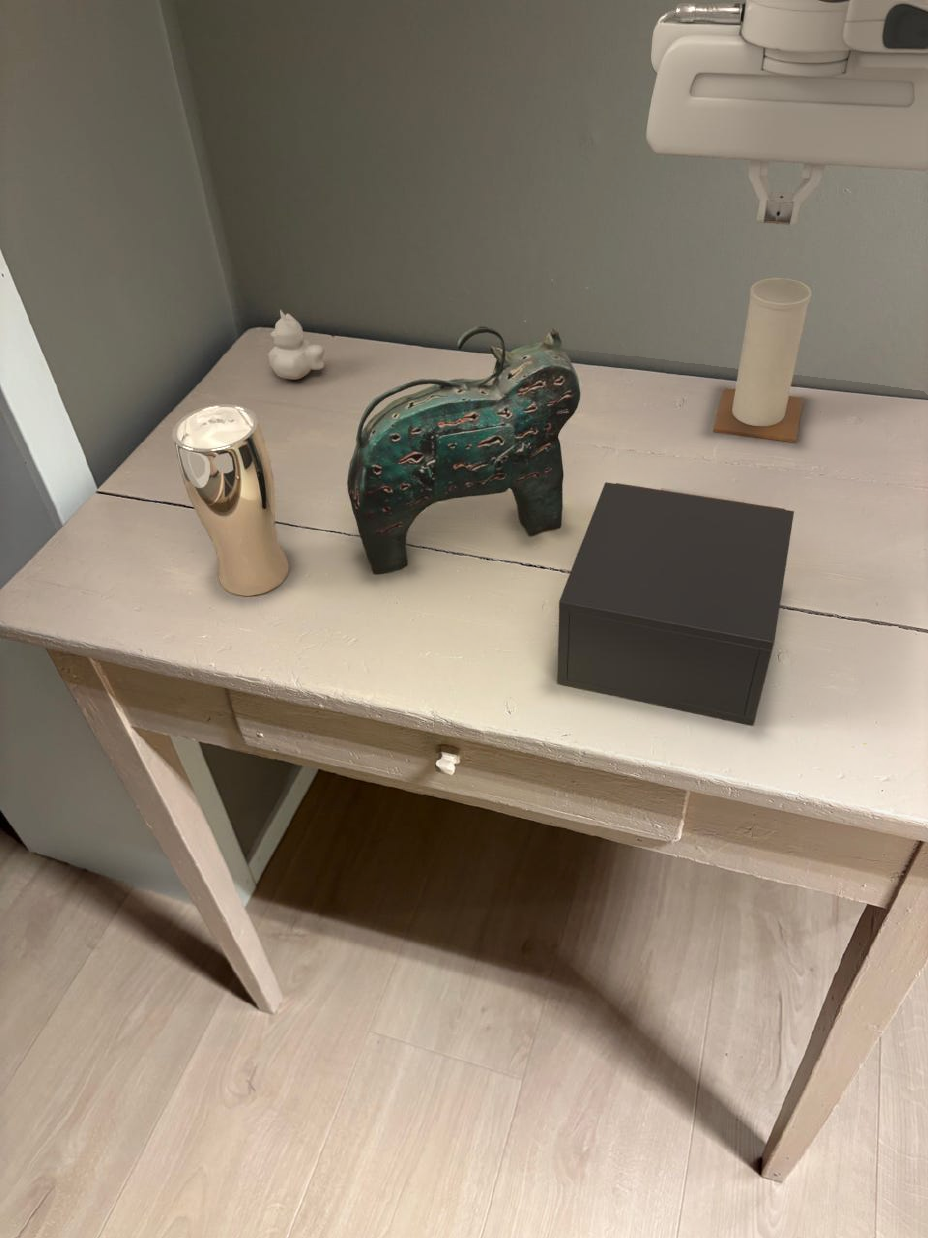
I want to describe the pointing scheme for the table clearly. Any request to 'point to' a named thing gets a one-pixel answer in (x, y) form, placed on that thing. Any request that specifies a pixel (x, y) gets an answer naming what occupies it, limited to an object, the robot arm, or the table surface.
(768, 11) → the robot arm
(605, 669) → the cabinet
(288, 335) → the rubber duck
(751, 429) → the coaster
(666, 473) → the table surface
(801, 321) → the container
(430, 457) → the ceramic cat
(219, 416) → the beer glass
